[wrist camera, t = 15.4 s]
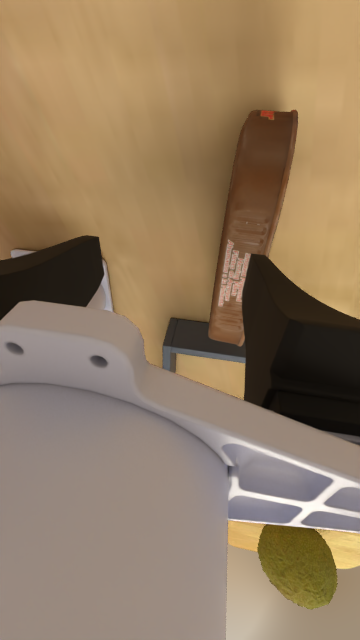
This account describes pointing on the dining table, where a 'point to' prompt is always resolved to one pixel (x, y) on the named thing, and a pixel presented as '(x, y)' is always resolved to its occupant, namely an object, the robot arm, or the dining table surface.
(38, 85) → the dining table surface
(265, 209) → the tin
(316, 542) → the fruit
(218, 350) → the box
